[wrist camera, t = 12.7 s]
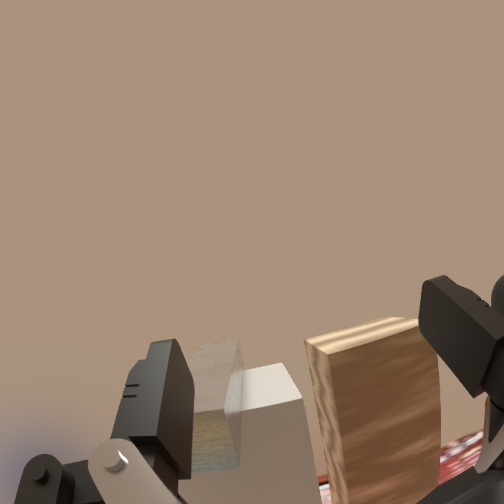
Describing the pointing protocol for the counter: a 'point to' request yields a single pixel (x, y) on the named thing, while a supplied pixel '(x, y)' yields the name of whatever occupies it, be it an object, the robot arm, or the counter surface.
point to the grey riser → (264, 449)
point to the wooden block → (217, 406)
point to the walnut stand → (378, 411)
